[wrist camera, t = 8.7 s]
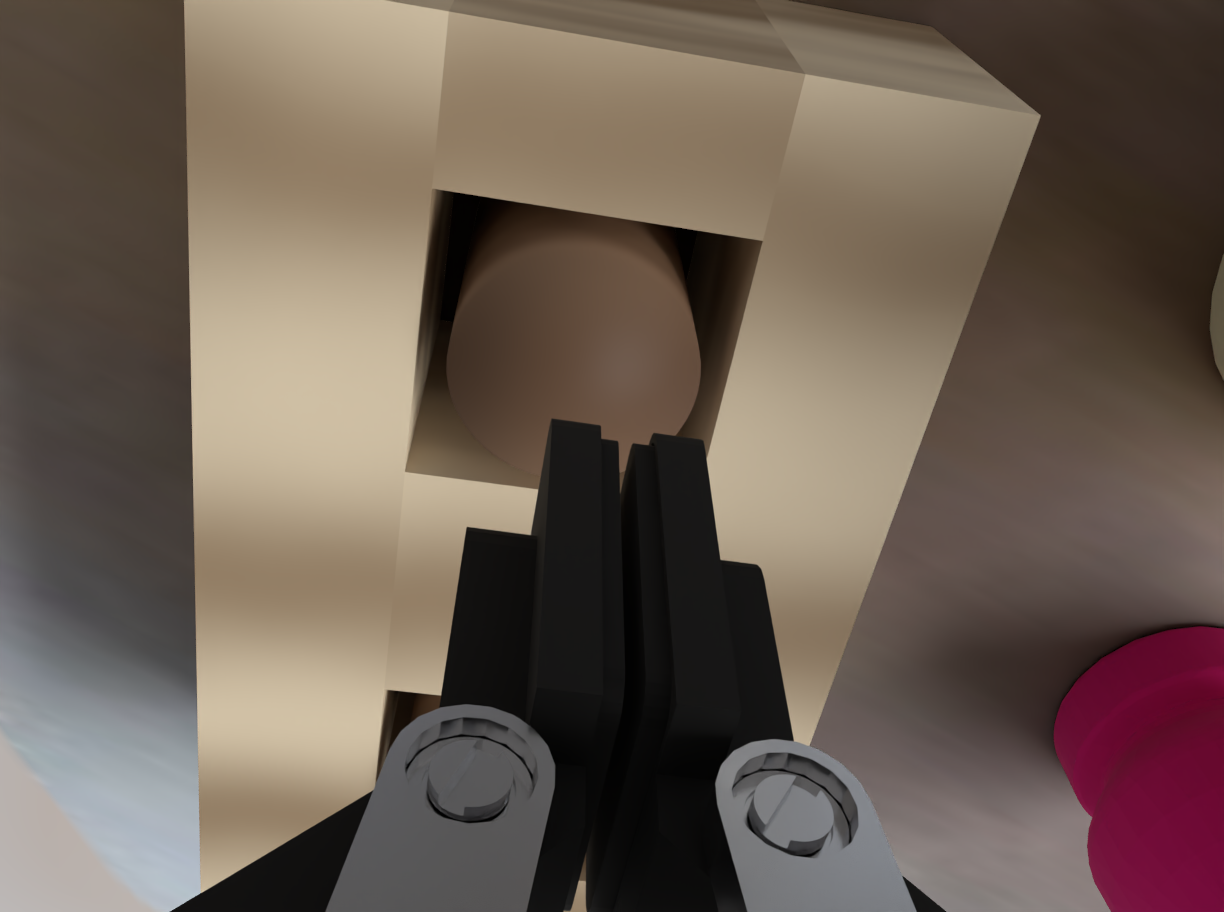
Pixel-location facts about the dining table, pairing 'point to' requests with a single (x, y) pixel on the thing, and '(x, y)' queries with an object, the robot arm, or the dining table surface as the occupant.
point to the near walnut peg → (570, 330)
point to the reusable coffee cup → (1218, 319)
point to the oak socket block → (418, 340)
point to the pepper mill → (1151, 770)
